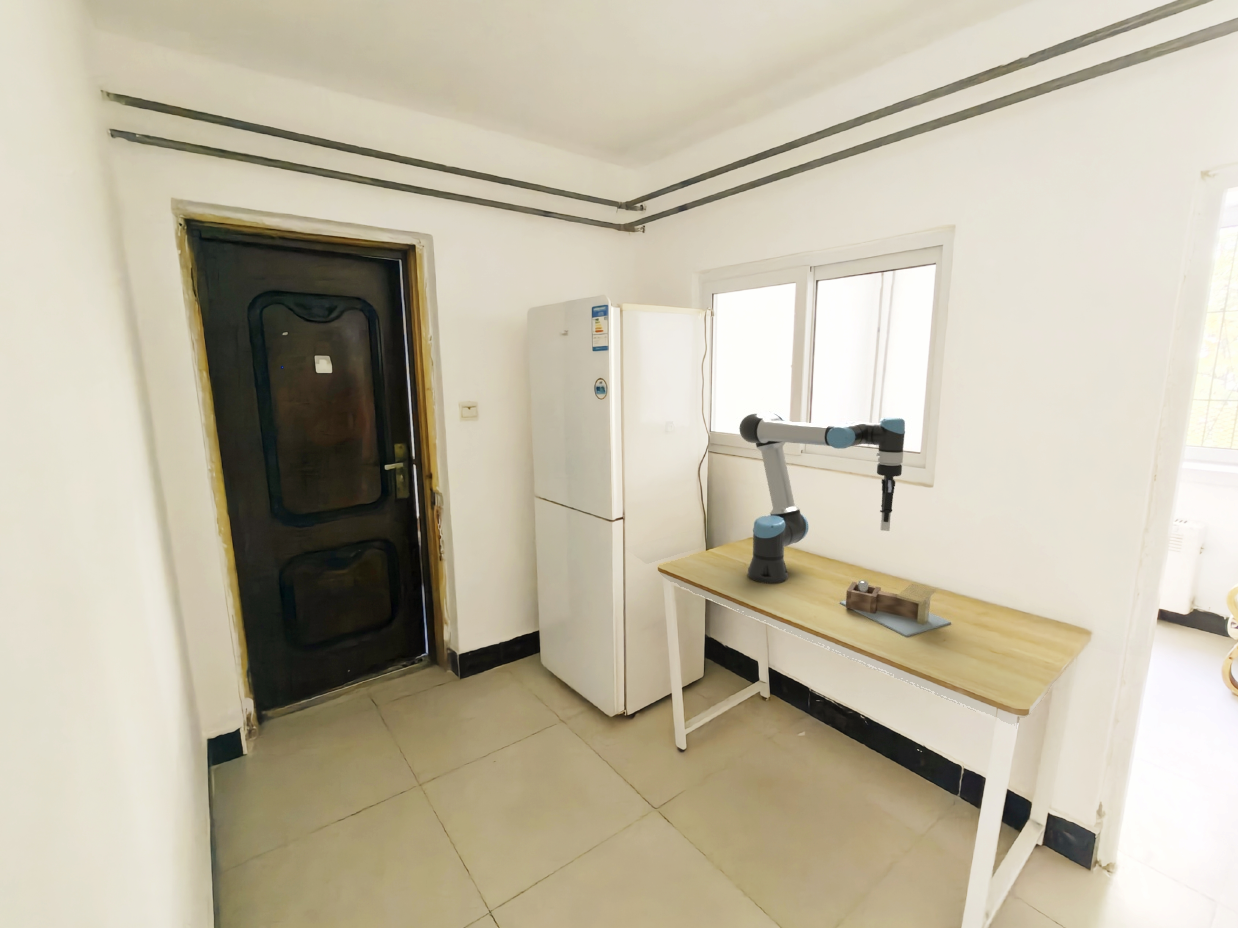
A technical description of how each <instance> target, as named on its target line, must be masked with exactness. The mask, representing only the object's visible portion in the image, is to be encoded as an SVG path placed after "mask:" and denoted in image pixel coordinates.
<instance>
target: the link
mask: <svg viewBox="0 0 1238 928" xmlns="http://www.w3.org/2000/svg"><path fill="white" fill-rule="evenodd" d="M858 584H859V582H855V581H852V582H851V584H850V585H849V587H848V588H847V590H846V594H845V595H846V596H845V597H846V598H845V600H846V606H845V608H846V609H847V608H848V609H850V610H852V609H855V610H859V611H864V612H868V613H873V614H875V612H876V611H881V612H885V613H890V614H894V615H899V616H903V617H908V618H912V619H918V607H919V604H918V603H914V602H911V601H907V600H904V599H900V598H897V595H898V594H899V593H893V592H889V591H888V592H887V591H884V590H882V587H879V586H877V585H876V586H875V585H870V584H868V593H864V592H859V591H858Z"/></svg>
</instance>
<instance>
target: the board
mask: <svg viewBox="0 0 1238 928" xmlns="http://www.w3.org/2000/svg"><path fill="white" fill-rule="evenodd" d="M839 604H841V605H842V606H845V607H846V599H845V600H840V601H839ZM851 611H854V612H855V613H858V614H860V615H862V616H864V617H866V618H869V619H870V620H872V621H874V622H876V623H878V624H879V625H882V626H884V627H886V628H888V629H890V630H892V631H894V632H895V633H898V634H899V635H902V636H904V637H907V638H908V637H910V636H914V635H918V634H919V633H923V632H927V631H931V630H934V629H937V628H940V627H945V626H947V625H948V626H949V625H951V624H952V622H951V621H950V620H947V619H946V618H942V617H941V616H939V615H936V614H934V613H932V612H930V611H929V619H928V622H927V623H926V624H925V625H922V624H919V623H917V619H912V618H908V617H903V616H899V615H894V614H890V613H885V612H881V611H876V612H875V614H873V613H868V612H864V611H859V610H855V609H851Z"/></svg>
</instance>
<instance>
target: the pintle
mask: <svg viewBox="0 0 1238 928" xmlns="http://www.w3.org/2000/svg"><path fill="white" fill-rule="evenodd" d="M858 583H859V584H858V591H859V592H864V593H868V585H869V581H867V580H864V579H863V580H861V579H860V580H858Z"/></svg>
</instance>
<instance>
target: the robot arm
mask: <svg viewBox="0 0 1238 928" xmlns="http://www.w3.org/2000/svg"><path fill="white" fill-rule="evenodd" d="M905 427H906V422H905V420H904V419H903V418H900V417H899V418H898V417H882V418H881V419H880V422H878V423H877V422H863V421H848V422H846V423H845V424H833V423H832V424H831V423H830V424H829V423H828V424H827V423H815V422H814V423H812V422H810V423H809V422H798V421H797V422H795V421H794V422H792V421H787V419H786V418H785V416H783V415H782V414H781V413H778V412H776V411H775V412H774V411H773V412H772V411H768V412H767V411H766V412H760V413H752V414H749V415H746V416H745V417H743V419H742V420H741V422H740V424H739V428H738V429H739V433H740V434H739V435H740V436H741V438H742V439H743V440H744V441H746V442H748V443H751V444H755V446H756V449H757V450H759V452H761V456H762V461H763V466H764V471H765V476H766V481H767V485H768V487H767V488H768V491H769V496H770V500H771V505H772V510H770V512H769V515H764V516H759V517H758V518H756V519H755V520H754V522H753V529H752V532H753V534H752V537H753V538H752V557H751V558H752V559H751V560H750V564H749V566H748V567H747V577H748V578H749V579H750V580H752V581H755V582H757V583H762V584H774V585H775V584H780V583H784V582H786V581H787V580H788V577H789V576H788V569H787V566H786V563H785V562H786V561H785V559H784V557H785V547H788V546H790V545H793V544H796V543H799V542H800V541H802V540H803V539H804V538H805V537H806V536H807V535H808V532H809V523H808V520H807V518H806V517H805V515H803V514H802V513H801V508H800V507H799V506H797V505H795V500H794V496H793V495H794V494H793V490H792V484H791V482H790V481H791V480H790V476H789V472H788V467H787V466H788V465H787V462H786V456H785V452H784V445H785V444H786V443H788V444H789V443H791V444H799V445H800V444H802V445H804V444H805V445H811V446H812V445H815V446H825V447H827V446H828V447H832V448H834V449H846V448H850V447H854V446H860V445H874V446H878V449H877V450H878V453H876V457H877V462H878V463H877V464H876V467H877V468H876V474H877V475H879V476H883V478H882V479H881V481H880V482H881V491H882V493H881V505H880V506H881V509H880V510H879V513H881V515H880V516H881V517H880V518H881V519H880V531H882V532H883V531H886V532H890V529H891V527H890V526H891V513H892V512H893V509H892V508H893V499H894V493H895V487H896V480H895V479H894V477H900V476H901V475H902V471H903V470H902V469H903V465H902V464H903V461H904V460H903V458H904V445H905V444H904V443H905V433H906V431H905V429H906V428H905Z"/></svg>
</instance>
